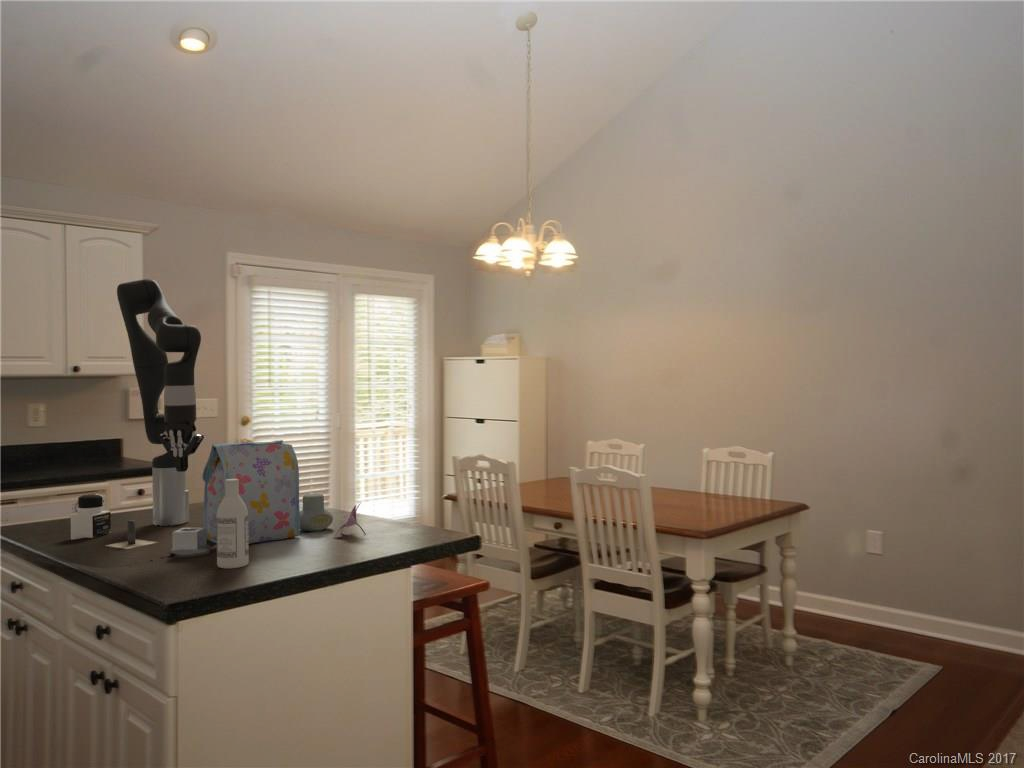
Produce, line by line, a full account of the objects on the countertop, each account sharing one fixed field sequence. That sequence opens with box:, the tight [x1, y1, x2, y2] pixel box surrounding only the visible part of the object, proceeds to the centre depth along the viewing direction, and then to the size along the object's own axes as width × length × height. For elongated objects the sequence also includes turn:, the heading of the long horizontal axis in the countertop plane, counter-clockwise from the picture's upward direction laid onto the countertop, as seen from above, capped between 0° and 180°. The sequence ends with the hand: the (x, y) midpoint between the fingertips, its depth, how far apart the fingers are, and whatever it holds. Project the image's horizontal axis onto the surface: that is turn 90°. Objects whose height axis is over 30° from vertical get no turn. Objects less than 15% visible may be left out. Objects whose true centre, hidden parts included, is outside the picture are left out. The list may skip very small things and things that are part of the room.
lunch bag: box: [201, 439, 301, 544], centre depth 217 cm, size 22×17×26 cm
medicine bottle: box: [70, 493, 112, 541], centre depth 221 cm, size 7×7×12 cm
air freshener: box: [300, 493, 334, 533], centre depth 230 cm, size 11×8×10 cm
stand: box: [104, 519, 159, 550], centre depth 208 cm, size 9×9×7 cm
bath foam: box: [216, 479, 250, 570], centre depth 186 cm, size 7×7×20 cm
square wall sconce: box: [171, 526, 207, 551], centre depth 199 cm, size 6×6×4 cm
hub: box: [169, 544, 210, 559], centre depth 200 cm, size 9×9×5 cm
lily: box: [334, 500, 367, 537], centre depth 221 cm, size 12×12×10 cm
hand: (181, 471), depth 205 cm, fingers closed
